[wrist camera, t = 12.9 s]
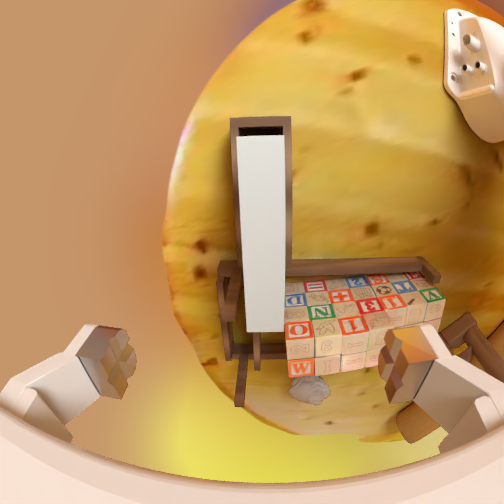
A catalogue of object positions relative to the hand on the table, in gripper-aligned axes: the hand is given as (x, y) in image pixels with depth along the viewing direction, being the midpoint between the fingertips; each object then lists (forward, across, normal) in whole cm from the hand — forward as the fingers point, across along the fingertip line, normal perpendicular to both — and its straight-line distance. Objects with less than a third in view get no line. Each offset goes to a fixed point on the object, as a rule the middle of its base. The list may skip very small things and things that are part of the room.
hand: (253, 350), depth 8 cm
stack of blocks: (+28, -13, +16) cm, 35 cm away
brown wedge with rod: (+28, -35, +27) cm, 52 cm away
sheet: (+28, 0, 0) cm, 28 cm away
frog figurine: (+28, -7, +32) cm, 43 cm away
